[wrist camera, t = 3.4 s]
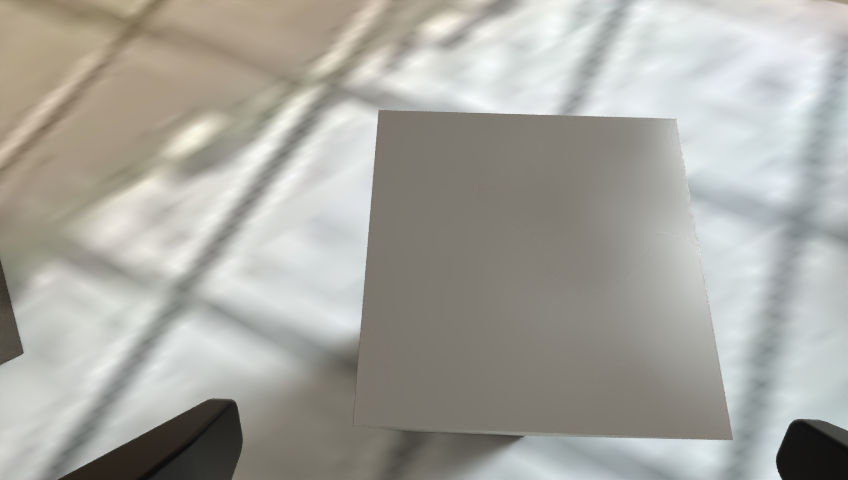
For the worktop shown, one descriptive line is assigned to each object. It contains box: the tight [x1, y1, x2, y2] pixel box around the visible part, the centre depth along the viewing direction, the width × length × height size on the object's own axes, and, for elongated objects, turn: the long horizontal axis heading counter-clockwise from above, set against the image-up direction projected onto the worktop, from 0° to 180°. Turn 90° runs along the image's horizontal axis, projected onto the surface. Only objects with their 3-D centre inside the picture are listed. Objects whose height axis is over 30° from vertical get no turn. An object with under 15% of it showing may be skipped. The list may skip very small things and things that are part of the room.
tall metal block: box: [353, 110, 733, 440], centre depth 13 cm, size 4×4×13 cm
